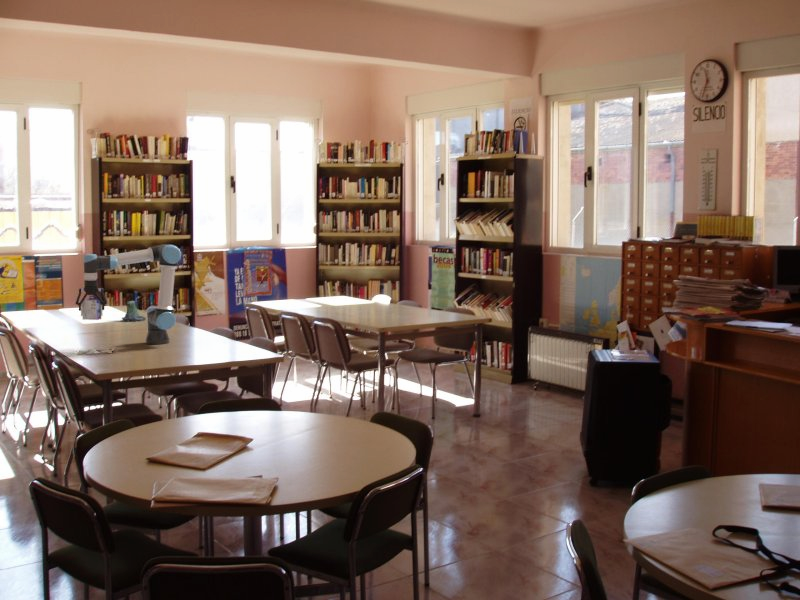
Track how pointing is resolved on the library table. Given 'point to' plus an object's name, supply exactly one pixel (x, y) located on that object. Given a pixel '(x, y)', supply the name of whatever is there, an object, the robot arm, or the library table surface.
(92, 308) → the ink cartridge box
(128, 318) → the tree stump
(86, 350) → the board
